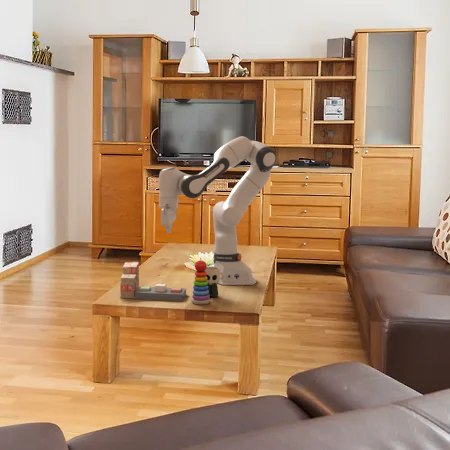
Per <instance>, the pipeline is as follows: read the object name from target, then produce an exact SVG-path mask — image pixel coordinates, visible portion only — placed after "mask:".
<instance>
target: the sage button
mask: <svg viewBox="0 0 450 450" xmlns="http://www.w3.org/2000/svg"><path fill="white" fill-rule="evenodd" d="M151 287H152V286H148V285H147V286H145V285H142V286H139V288H140V291H150V290H151Z"/></svg>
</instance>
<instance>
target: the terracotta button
mask: <svg viewBox="0 0 450 450" xmlns="http://www.w3.org/2000/svg"><path fill="white" fill-rule="evenodd" d="M171 288H172V289H171V292H176V293H181V292H182V288H183V287H171Z"/></svg>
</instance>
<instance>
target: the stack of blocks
mask: <svg viewBox="0 0 450 450" xmlns="http://www.w3.org/2000/svg"><path fill="white" fill-rule="evenodd" d="M139 279H140V262H139V261H125V262H124V264H123V266H122V275H121V276H120V288H119V289H120V295H119V296H120V298H121V299H135V292H136V291H137V290H138V289H139V288H140V280H139Z"/></svg>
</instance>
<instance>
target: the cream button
mask: <svg viewBox="0 0 450 450" xmlns="http://www.w3.org/2000/svg"><path fill="white" fill-rule="evenodd" d="M154 287H155V292H166V288H167V283H156V284H155V286H154Z"/></svg>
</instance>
